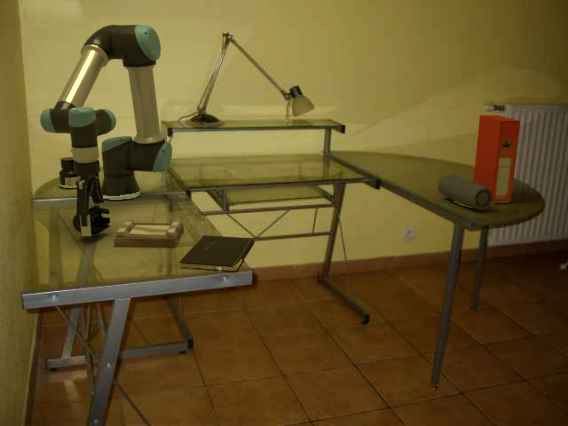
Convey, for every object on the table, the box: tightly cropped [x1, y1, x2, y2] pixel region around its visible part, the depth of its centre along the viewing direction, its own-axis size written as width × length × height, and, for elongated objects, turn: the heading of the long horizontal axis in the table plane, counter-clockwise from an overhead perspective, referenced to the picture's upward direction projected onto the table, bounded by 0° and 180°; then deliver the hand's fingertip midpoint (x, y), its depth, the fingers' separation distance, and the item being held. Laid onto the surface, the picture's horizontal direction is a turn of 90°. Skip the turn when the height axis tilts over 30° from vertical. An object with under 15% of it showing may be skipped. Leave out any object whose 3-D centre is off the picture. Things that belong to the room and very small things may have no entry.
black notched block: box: [72, 205, 111, 237], centre depth 180 cm, size 10×7×7 cm
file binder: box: [472, 114, 521, 202], centre depth 228 cm, size 8×17×32 cm, turn 7°
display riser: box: [113, 219, 185, 248], centre depth 181 cm, size 16×18×4 cm
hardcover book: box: [178, 234, 255, 269], centre depth 168 cm, size 16×23×2 cm
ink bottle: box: [58, 156, 80, 186], centre depth 241 cm, size 10×9×12 cm
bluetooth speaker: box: [437, 174, 493, 210], centre depth 222 cm, size 23×9×10 cm, turn 20°
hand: (92, 229), depth 181 cm, fingers closed on black notched block, 11 cm apart
